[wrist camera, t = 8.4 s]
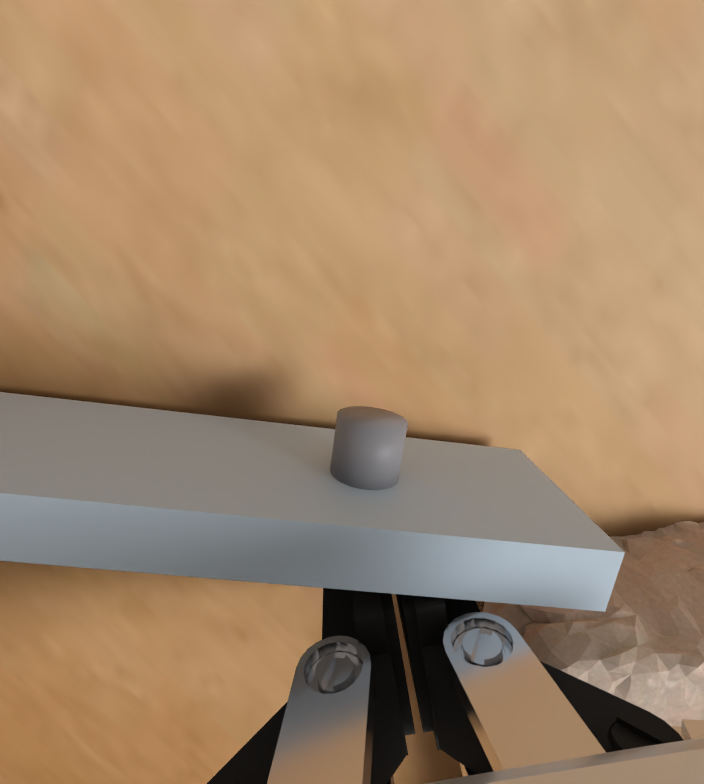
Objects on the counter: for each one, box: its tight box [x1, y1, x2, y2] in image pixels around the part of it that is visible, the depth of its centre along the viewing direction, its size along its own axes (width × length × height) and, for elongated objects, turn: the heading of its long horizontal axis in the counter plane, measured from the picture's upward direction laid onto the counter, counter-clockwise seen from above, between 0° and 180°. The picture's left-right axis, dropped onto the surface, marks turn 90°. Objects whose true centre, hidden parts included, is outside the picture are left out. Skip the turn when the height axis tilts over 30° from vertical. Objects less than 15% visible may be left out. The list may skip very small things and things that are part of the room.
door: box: [0, 392, 625, 612], centre depth 9 cm, size 17×2×6 cm, turn 82°
